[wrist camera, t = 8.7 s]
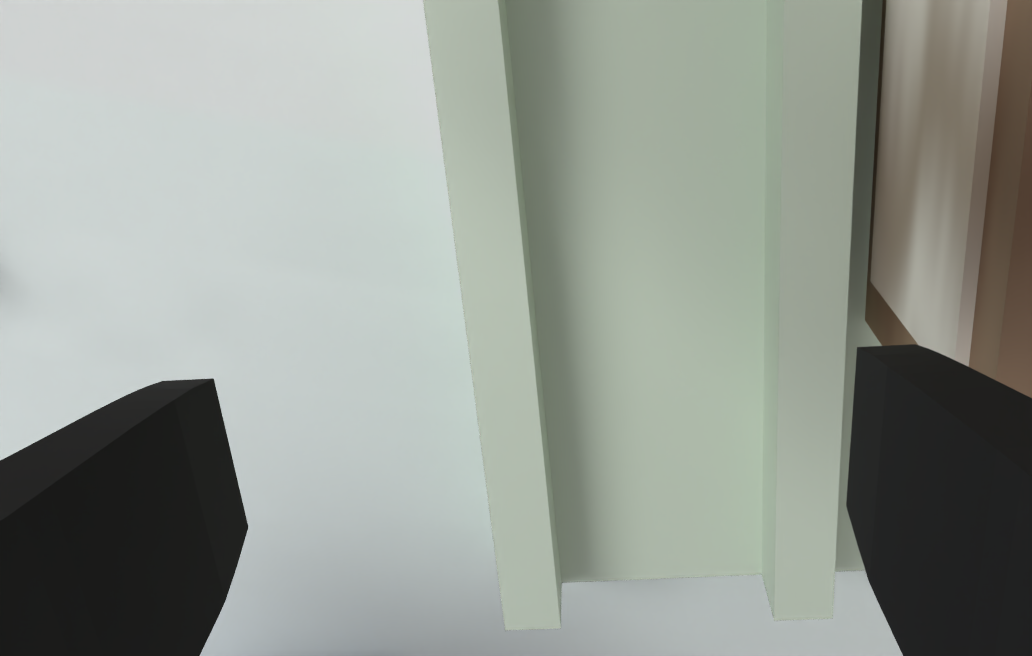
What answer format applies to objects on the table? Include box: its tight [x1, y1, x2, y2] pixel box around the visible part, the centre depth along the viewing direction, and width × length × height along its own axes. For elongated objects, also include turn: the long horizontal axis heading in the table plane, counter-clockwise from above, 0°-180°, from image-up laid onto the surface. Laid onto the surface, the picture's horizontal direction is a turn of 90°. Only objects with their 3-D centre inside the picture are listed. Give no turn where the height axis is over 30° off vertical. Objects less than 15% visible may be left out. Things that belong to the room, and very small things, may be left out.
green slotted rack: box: [423, 0, 883, 631], centre depth 17 cm, size 20×18×2 cm
